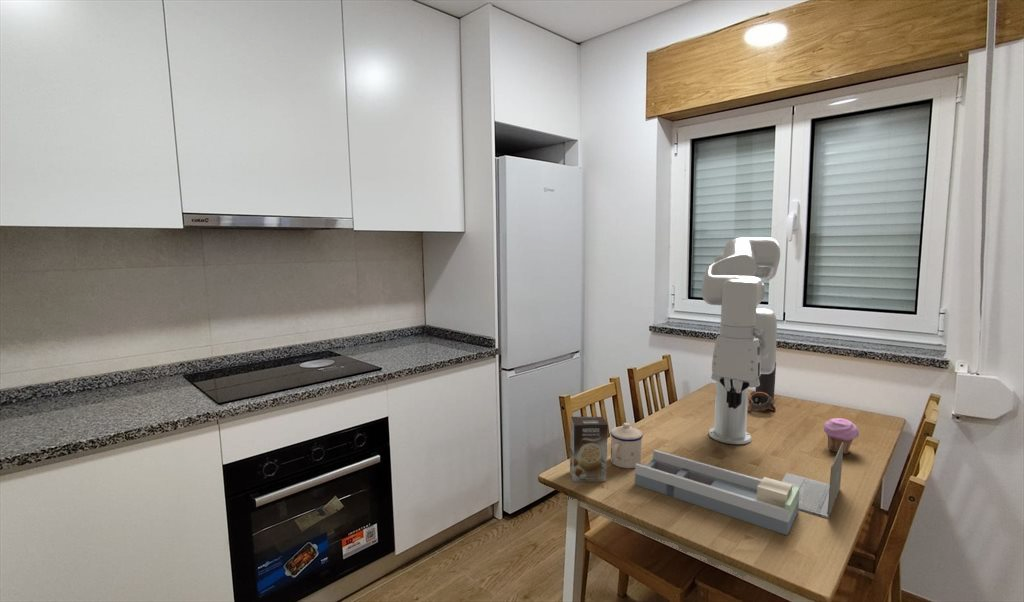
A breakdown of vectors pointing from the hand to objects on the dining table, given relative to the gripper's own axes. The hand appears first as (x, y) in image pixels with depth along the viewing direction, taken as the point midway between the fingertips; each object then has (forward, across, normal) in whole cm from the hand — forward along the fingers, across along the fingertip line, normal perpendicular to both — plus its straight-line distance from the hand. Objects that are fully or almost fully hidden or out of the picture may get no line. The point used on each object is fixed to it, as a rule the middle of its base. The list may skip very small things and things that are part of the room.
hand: (733, 406), depth 119 cm
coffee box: (+25, +34, +10) cm, 43 cm away
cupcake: (+25, -17, -52) cm, 60 cm away
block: (+21, -10, +1) cm, 24 cm away
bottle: (+26, +13, -92) cm, 96 cm away
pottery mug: (+26, +10, -75) cm, 80 cm away
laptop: (+25, -14, -16) cm, 33 cm away
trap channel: (+24, +4, 0) cm, 25 cm away
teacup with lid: (+25, +30, -2) cm, 39 cm away
